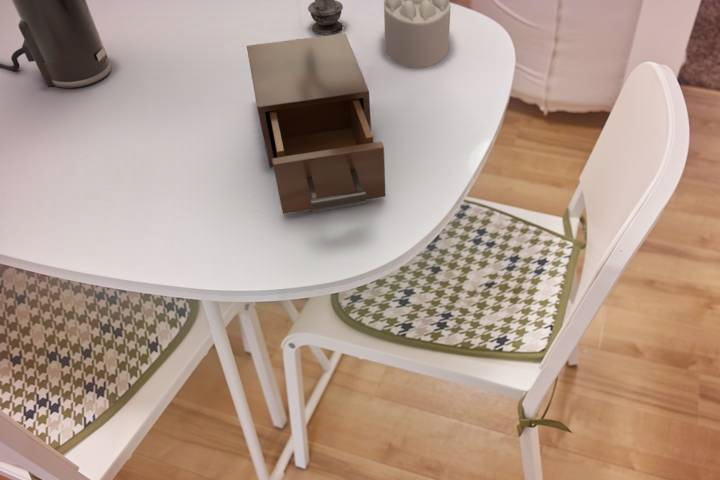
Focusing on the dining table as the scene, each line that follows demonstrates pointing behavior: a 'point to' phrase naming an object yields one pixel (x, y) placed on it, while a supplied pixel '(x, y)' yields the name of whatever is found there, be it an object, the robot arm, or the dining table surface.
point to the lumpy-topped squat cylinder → (417, 31)
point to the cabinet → (304, 78)
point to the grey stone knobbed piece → (326, 16)
